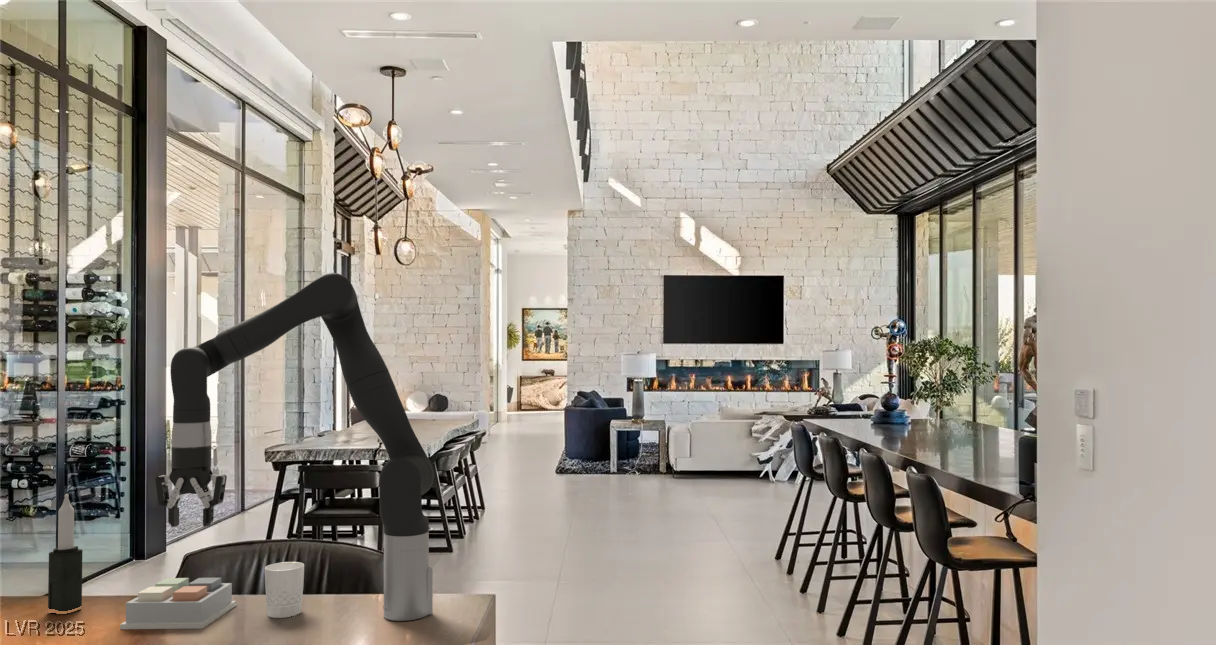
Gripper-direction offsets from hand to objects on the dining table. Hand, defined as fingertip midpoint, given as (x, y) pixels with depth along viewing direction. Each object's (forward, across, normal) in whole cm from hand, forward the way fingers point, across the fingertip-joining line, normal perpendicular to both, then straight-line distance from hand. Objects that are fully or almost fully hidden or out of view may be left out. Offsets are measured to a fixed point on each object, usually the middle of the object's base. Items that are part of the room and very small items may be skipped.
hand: (190, 525), depth 184 cm
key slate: (+16, 0, -7) cm, 18 cm away
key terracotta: (+16, 0, 0) cm, 16 cm away
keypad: (+20, +4, -4) cm, 20 cm away
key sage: (+16, +7, -7) cm, 19 cm away
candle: (+20, +31, -9) cm, 37 cm away
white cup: (+20, -18, -5) cm, 27 cm away
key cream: (+16, +7, 0) cm, 18 cm away
